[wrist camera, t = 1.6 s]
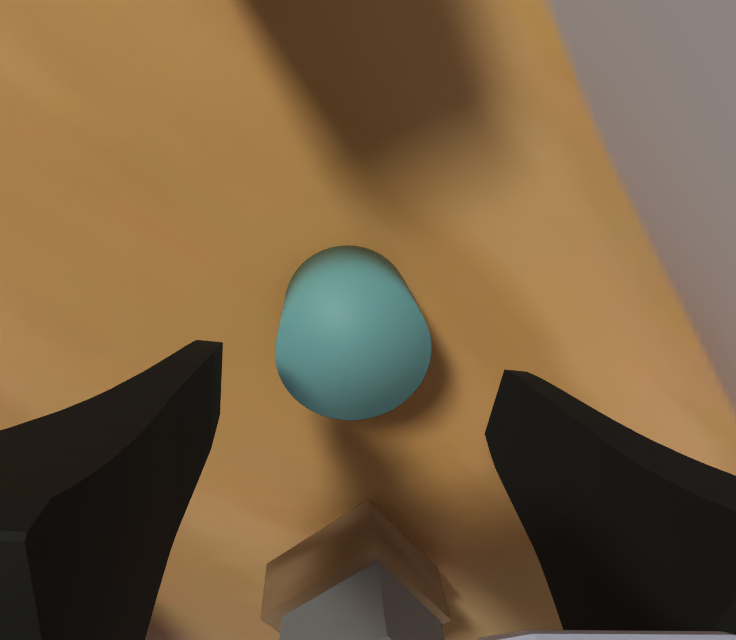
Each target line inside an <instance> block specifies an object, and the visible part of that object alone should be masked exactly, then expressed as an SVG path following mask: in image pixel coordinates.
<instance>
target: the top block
mask: <svg viewBox="0 0 736 640" xmlns="http://www.w3.org/2000/svg"><path fill="white" fill-rule="evenodd" d="M280 640H445V639H444V635H443V631H442V627H441V623H440V620H439V619H438V618H437V617H436V616H435V615H434V614H433V613H432V612H430V611H429V610H428V609H427V608H426V607H425V606H424V605H423V604H422V603H421V602H420V601H419V600H418V599H417V598H416V597H415V596H414V595H413V594H411V593H410V592H409V591H408V590H407V589H406V588H405V587H404V586H403V585H402V584H401V583H400V582H399V581H398V580H397V579H396V578H395V577H394V576H392V575H391V574H390V573H389V572H388V571H387V570H386V569H385V568H384V567H383V566H382V565H381V564H380V563H379V562H378V561H376V562H375V563H373V564H371V565H370V566H368V567H366V568H365V569H363V570H361V571H359V572H358V573H356V574H354V575H353V576H351V577H349V578H348V579H346V580H344V581H342V582H341V583H339V584H337V585H336V586H334V587H332V588H331V589H329V590H327V591H325V592H324V593H322V594H320V595H319V596H317V597H315V598H313V599H312V600H310V601H308V602H307V603H305V604H303V605H302V606H300V607H298V608H296V609H295V610H293V611H291V612H290V613H288V614H286V615H285V616H283V617H281V628H280Z"/></svg>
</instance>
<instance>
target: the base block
mask: <svg viewBox="0 0 736 640" xmlns="http://www.w3.org/2000/svg"><path fill="white" fill-rule="evenodd" d="M376 561H378V562H379V563H380V564H381V565H382V566H383V567H384V568H385V569H386V570H387V571H388V572H389V573H390V574H391V575H392V576H394V577H395V578H396V579H397V580H398V581H399V582H400V583H401V584H402V585H403V586H404V587H405V588H406V589H407V590H408V591H409V592H410V593H411V594H413V595H414V596H415V597H416V598H417V599H418V600H419V601H420V602H421V603H422V604H423V605H424V606H425V607H426V608H427V609H428V610H429V611H430V612H432V613H433V614H434V615H435V616H436V617H437V618H438V619H439V620H440V623H441V626H443V625H444V624H446V623H448V622H450V621H451V616H450V613H449V609H448V605H447V602H446V598H445V594H444V590H443V587H442V583H441V579H440V575H439V572H438V568H437V567H436V566H435V565H434V564H433V563H432V562H431V561H430V560H429V559H428V558H427V557H426V556H425V555H424V554H423V553H422V552H421V551H420V550H419V549H418V548H417V547H416V546H415V545H414V544H413V543H412V542H411V541H410V540H409V539H408V538H406V537H405V536H404V535H403V534H402V533H401V532H400V531H399V530H398V529H397V528H396V527H395V526H394V525H393V524H392V523H391V522H390V521H389V520H388V519H387V518H386V517H385V516H384V515H383V514H382V513H381V512H380V511H379V510H378V509H377V508H376V507H375V506H374V505H373V504H372V503H371V502H370V501H369V500H367V501H365V502H364V503H362V504H360V505H359V506H357V507H356V508H354V509H353V510H351V511H349V512H348V513H346V514H345V515H343V516H342V517H340V518H338V519H337V520H335V521H334V522H332V523H331V524H329V525H327V526H326V527H324V528H323V529H321V530H320V531H318V532H316V533H315V534H313V535H312V536H310V537H308V538H307V539H305V540H304V541H302V542H301V543H299V544H297V545H296V546H294V547H293V548H291V549H290V550H288V551H286V552H285V553H283V554H282V555H280V556H279V557H277V558H275V559H274V560H272V561H271V562H269V563H268V564H267V567H266V576H265V584H264V593H263V601H262V610H261V618H260V619H261V620H262V621H264V622H265V623H267V624H268V625H269V626H271V627H272V628H274V629H275V630H276V631H278V632H279V633H280V628H281V617H283V616H285V615H286V614H288V613H290V612H291V611H293V610H295V609H296V608H298V607H300V606H302V605H303V604H305V603H307V602H308V601H310V600H312V599H313V598H315V597H317V596H319V595H320V594H322V593H324V592H325V591H327V590H329V589H331V588H332V587H334V586H336V585H337V584H339V583H341V582H342V581H344V580H346V579H348V578H349V577H351V576H353V575H354V574H356V573H358V572H359V571H361V570H363V569H365V568H366V567H368V566H370V565H371V564H373V563H375V562H376Z"/></svg>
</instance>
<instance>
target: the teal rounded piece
mask: <svg viewBox="0 0 736 640" xmlns="http://www.w3.org/2000/svg"><path fill="white" fill-rule="evenodd" d="M430 358H431V337H430V332H429V329H428V326H427V324H426V321H425V319H424V317H423V315H422V313H421V311H420V310H419V308H418V306H417V304H416V302H415V300H414V298H413V296H412V295H411V293H410V291H409V289H408V287H407V285H406V283H405V282H404V280H403V278H402V276H401V274H400V273H399V271H398V270H397V269H396V267H395V266H394V265H393V264H392V263H391V262H390V261H389V260H388V259H386V258H385V257H383V256H382V255H381V254H379V253H377V252H375V251H373V250H370V249H367V248H363V247H358V246H337V247H332V248H329V249H326V250H323V251H321V252H319V253H317V254H315V255H313V256H312V257H310V258H309V259H307V260H306V261H305V262H304V263H303V264H302V265H301V266H300V267H299V268H298V269H297V271H296V272H295V274H294V275H293V277H292V279H291V281H290V283H289V285H288V288H287V291H286V296H285V301H284V306H283V311H282V315H281V320H280V325H279V330H278V335H277V340H276V346H275V359H276V366H277V369H278V373H279V376H280V378H281V380H282V382H283V384H284V386H285V387H286V389H287V390H288V391H289V393H290V394H291V395H292V396H293V397H294V398H295V399H296V400H297V401H298V402H299V403H300V404H302V405H303V406H305V407H306V408H308V409H309V410H311V411H313V412H315V413H317V414H320V415H323V416H325V417H329V418H333V419H340V420H362V419H368V418H372V417H376V416H379V415H382V414H384V413H386V412H389V411H391V410H392V409H394V408H396V407H398V406H399V405H400V404H402V403H403V402H404V401H406V400H407V399H408V398H409V397H410V396H411V395H412V394H413V393H414V392H415V390H416V389H417V388H418V387H419V385H420V384H421V382H422V380H423V379H424V377H425V374H426V372H427V370H428V367H429V363H430Z"/></svg>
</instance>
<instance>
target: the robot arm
mask: <svg viewBox="0 0 736 640" xmlns="http://www.w3.org/2000/svg"><path fill="white" fill-rule="evenodd" d="M222 349H223V343H222V342H212V341H202V340H196V341H194V342H192V343H190V344H188V345H187V346H185V347H183V348H182V349H180V350H179V351H177V352H175V353H174V354H172V355H171V356H169V357H167V358H166V359H164V360H162V361H161V362H159V363H157V364H156V365H154V366H152V367H151V368H149V369H147V370H146V371H144V372H142V373H140V374H138V375H136V376H134V377H132V378H131V379H129V380H127V381H125V382H123V383H121V384H119V385H117V386H115V387H114V388H112V389H110V390H108V391H106V392H103V393H101V394H99V395H97V396H95V397H92V398H90V399H88V400H85V401H83V402H81V403H78V404H76V405H73V406H71V407H68V408H66V409H63V410H61V411H58V412H55V413H52V414H49V415H46V416H43V417H40V418H37V419H34V420H31V421H28V422H25V423H22V424H19V425H16V426H13V427H10V428H7V429H4V430H0V640H145V637H146V633H147V630H148V626H149V623H150V619H151V616H152V612H153V608H154V605H155V601H156V598H157V594H158V591H159V587H160V584H161V581H162V577H163V574H164V571H165V567H166V564H167V560H168V557H169V554H170V550H171V547H172V545H173V542H174V539H175V536H176V533H177V531H178V528H179V526H180V523H181V521H182V518H183V516H184V514H185V511H186V509H187V506H188V504H189V501H190V499H191V497H192V494H193V492H194V489H195V487H196V484H197V482H198V480H199V477H200V475H201V472H202V470H203V467H204V465H205V462H206V460H207V457H208V455H209V452H210V450H211V447H212V443H213V439H214V435H215V432H216V428H217V424H218V420H219V416H220V399H221V374H222ZM485 436H486V440H487V443H488V447H489V450H490V453H491V456H492V459H493V462H494V465H495V468H496V470H497V472H498V475H499V477H500V479H501V481H502V483H503V485H504V487H505V489H506V491H507V494H508V496H509V498H510V500H511V502H512V504H513V506H514V508H515V510H516V512H517V514H518V516H519V518H520V520H521V522H522V524H523V526H524V528H525V531H526V533H527V535H528V537H529V539H530V541H531V543H532V545H533V547H534V550H535V552H536V554H537V557H538V559H539V561H540V564H541V567H542V569H543V572H544V575H545V578H546V580H547V583H548V586H549V589H550V591H551V594H552V597H553V600H554V603H555V606H556V609H557V612H558V615H559V618H560V621H561V624H562V627H563V630H523V631H517V632H511V633H505V634H499V635H493V636H487V637H481V638H479V639H477V640H736V476H735V475H732V474H729V473H727V472H724V471H722V470H719V469H717V468H714V467H711V466H709V465H706V464H704V463H701V462H699V461H697V460H694V459H692V458H689V457H687V456H685V455H683V454H680V453H678V452H676V451H674V450H672V449H670V448H667V447H665V446H663V445H661V444H659V443H657V442H654V441H652V440H650V439H648V438H646V437H644V436H642V435H640V434H638V433H637V432H635V431H633V430H631V429H629V428H627V427H625V426H623V425H622V424H620V423H618V422H616V421H614V420H612V419H611V418H609V417H607V416H605V415H604V414H602V413H600V412H598V411H597V410H595V409H593V408H591V407H590V406H588V405H586V404H585V403H583V402H581V401H579V400H578V399H576V398H574V397H573V396H571V395H569V394H568V393H566V392H564V391H563V390H561V389H559V388H557V387H556V386H554V385H552V384H550V383H549V382H547V381H545V380H543V379H541V378H539V377H537V376H535V375H533V374H531V373H528V372H524V371H513V370H504V373H503V376H502V379H501V383H500V386H499V389H498V392H497V396H496V399H495V402H494V405H493V409H492V412H491V415H490V418H489V422H488V425H487V428H486V431H485Z"/></svg>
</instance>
